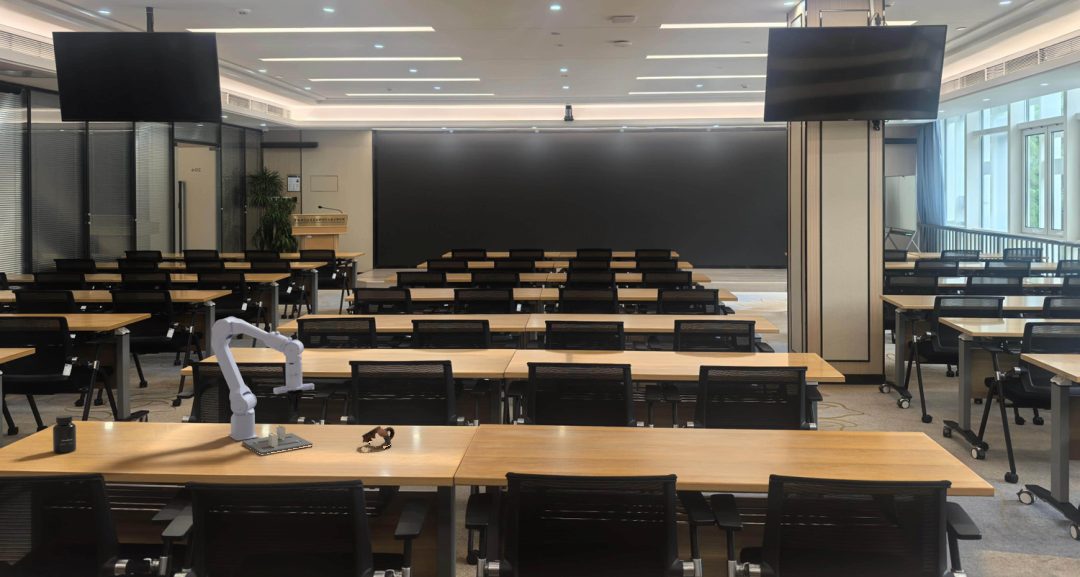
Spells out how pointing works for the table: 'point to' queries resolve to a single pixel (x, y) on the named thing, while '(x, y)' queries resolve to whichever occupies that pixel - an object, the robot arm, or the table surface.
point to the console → (283, 444)
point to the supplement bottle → (64, 435)
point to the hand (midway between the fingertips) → (294, 411)
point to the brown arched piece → (381, 433)
